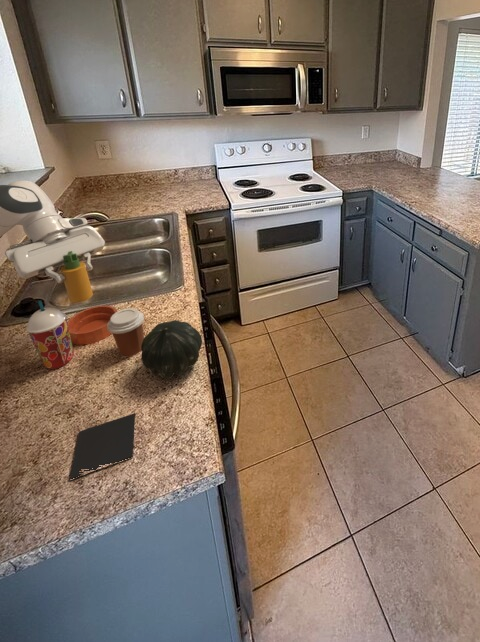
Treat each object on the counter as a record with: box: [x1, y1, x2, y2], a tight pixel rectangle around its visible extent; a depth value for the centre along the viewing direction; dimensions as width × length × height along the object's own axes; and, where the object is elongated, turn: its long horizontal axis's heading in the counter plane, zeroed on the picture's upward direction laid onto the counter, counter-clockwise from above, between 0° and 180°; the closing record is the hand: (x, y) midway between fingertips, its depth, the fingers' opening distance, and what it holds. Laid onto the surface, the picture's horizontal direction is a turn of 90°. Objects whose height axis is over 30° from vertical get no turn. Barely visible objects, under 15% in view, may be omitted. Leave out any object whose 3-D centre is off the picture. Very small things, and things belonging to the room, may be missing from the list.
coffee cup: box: [107, 307, 145, 358], centre depth 100 cm, size 9×9×12 cm
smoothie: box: [25, 300, 75, 370], centre depth 94 cm, size 8×8×20 cm
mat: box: [68, 412, 136, 481], centre depth 76 cm, size 11×11×1 cm
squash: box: [141, 319, 203, 380], centre depth 95 cm, size 14×15×15 cm
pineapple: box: [60, 251, 94, 304], centre depth 95 cm, size 5×5×13 cm
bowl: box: [67, 304, 118, 346], centre depth 109 cm, size 13×13×4 cm
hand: (76, 275), depth 95 cm, fingers closed on pineapple, 5 cm apart
